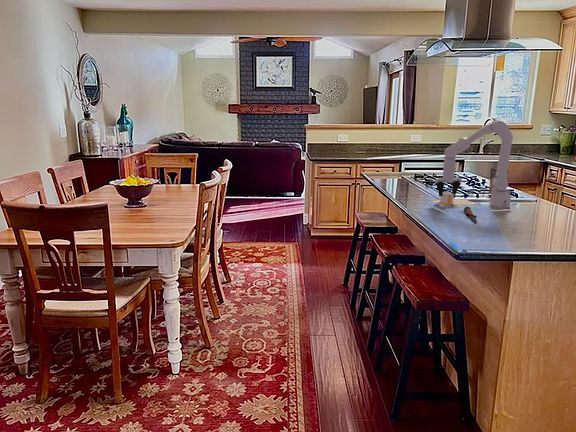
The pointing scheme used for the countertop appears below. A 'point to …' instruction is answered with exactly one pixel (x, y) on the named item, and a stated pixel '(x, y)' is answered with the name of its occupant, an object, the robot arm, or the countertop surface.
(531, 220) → the countertop surface
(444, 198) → the slotted knob
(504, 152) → the robot arm
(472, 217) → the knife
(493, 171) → the coffee box
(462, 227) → the countertop surface
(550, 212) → the countertop surface
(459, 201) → the shaft board
